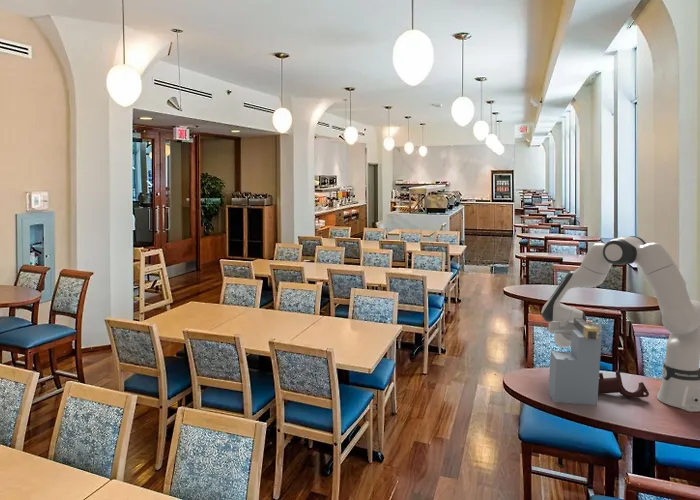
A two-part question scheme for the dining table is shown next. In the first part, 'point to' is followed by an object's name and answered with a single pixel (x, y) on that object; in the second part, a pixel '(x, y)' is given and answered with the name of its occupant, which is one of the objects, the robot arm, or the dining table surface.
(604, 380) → the bracket
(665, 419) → the dining table surface
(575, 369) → the stepped stand
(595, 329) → the bar
